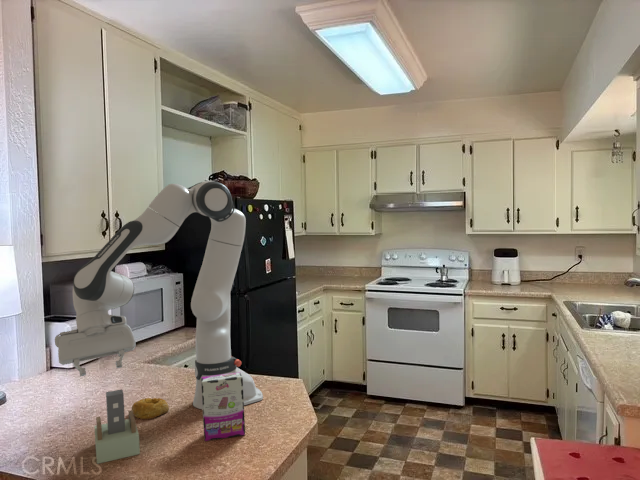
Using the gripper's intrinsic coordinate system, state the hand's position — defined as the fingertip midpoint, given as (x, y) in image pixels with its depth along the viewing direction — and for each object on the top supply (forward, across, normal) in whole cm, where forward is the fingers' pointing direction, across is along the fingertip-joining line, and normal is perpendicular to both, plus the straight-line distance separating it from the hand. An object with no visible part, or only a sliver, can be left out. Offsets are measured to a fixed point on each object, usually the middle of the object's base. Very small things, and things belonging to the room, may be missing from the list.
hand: (101, 371), depth 135 cm
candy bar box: (+28, +27, -5) cm, 39 cm away
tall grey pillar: (+18, +1, -3) cm, 18 cm away
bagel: (+11, +13, +17) cm, 24 cm away
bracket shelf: (+22, +1, 0) cm, 22 cm away
